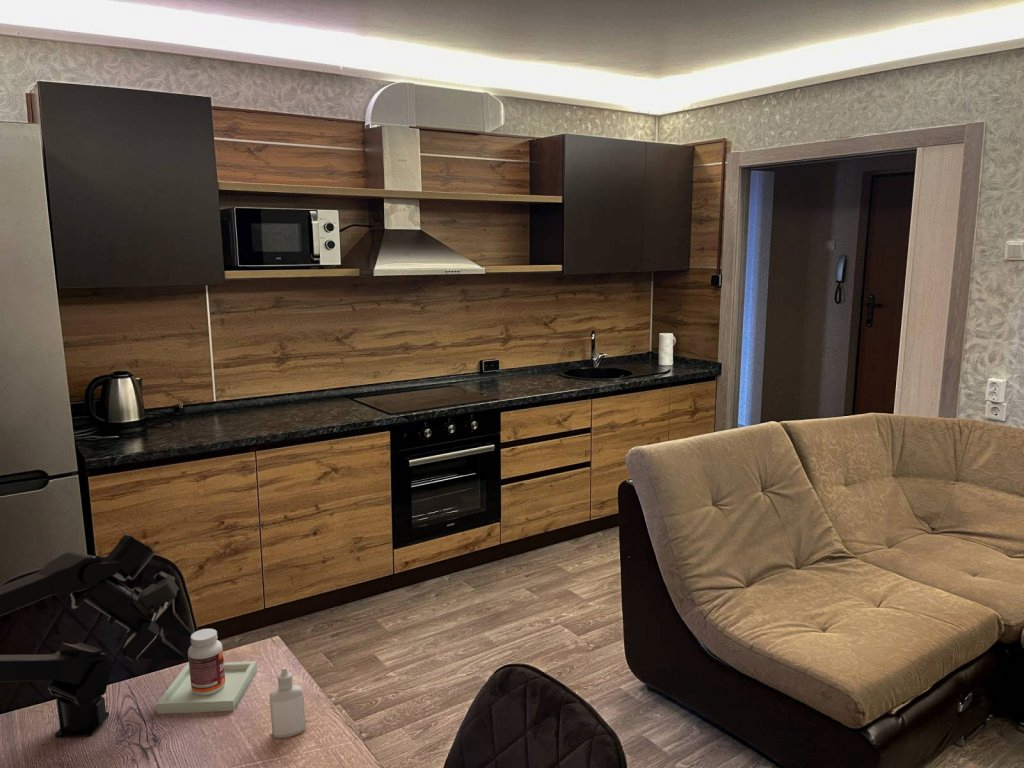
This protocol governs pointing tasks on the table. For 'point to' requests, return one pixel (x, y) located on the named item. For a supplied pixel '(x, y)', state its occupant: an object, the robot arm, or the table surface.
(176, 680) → the tray
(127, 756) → the table surface
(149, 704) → the table surface
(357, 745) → the table surface
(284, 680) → the eye dropper bottle
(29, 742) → the table surface
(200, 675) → the pill bottle
